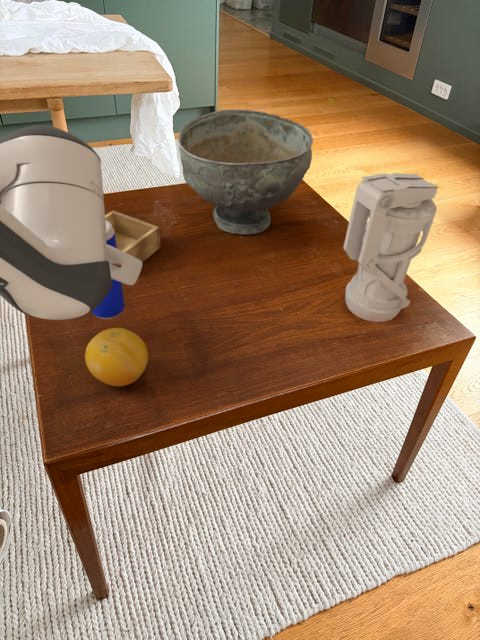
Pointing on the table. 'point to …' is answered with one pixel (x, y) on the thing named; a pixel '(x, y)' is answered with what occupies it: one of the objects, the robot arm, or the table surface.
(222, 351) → the table surface
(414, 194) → the lantern
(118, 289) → the beverage can
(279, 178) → the decorative bowl
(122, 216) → the wooden tray
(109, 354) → the fruit
